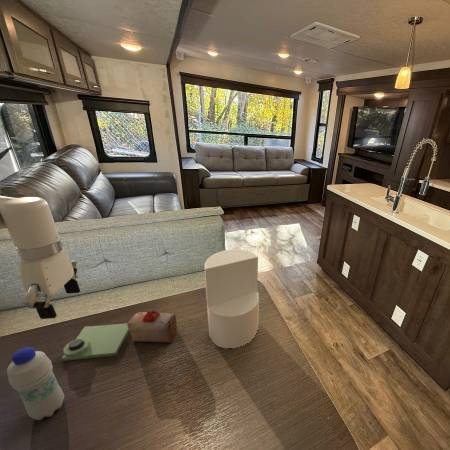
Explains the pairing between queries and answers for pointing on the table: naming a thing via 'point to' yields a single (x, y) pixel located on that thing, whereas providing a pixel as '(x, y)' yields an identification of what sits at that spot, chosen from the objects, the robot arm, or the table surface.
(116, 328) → the scale
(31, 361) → the bottle
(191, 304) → the table surface
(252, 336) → the cylinder
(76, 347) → the tare button
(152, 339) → the food item
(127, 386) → the table surface
